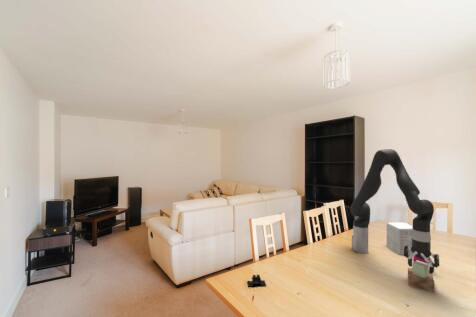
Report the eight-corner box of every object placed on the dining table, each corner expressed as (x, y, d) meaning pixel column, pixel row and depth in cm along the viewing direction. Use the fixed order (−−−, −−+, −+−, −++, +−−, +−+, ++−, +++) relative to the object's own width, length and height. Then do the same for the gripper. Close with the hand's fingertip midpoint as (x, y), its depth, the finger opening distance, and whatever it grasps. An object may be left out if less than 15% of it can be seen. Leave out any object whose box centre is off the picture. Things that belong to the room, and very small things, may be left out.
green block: (412, 274, 116) (412, 262, 116) (416, 271, 118) (416, 260, 118) (424, 278, 112) (424, 266, 111) (428, 275, 114) (428, 264, 114)
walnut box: (408, 285, 114) (408, 276, 114) (407, 276, 122) (407, 267, 122) (434, 292, 108) (434, 282, 108) (431, 282, 116) (432, 273, 116)
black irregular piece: (266, 280, 120) (266, 272, 120) (269, 288, 113) (269, 279, 113) (243, 281, 119) (243, 273, 119) (245, 290, 112) (245, 281, 112)
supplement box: (419, 254, 147) (419, 228, 146) (398, 254, 147) (399, 228, 146) (404, 246, 160) (404, 222, 159) (385, 246, 160) (386, 222, 160)
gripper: (401, 235, 118) (401, 265, 119) (435, 245, 106) (435, 278, 107) (408, 232, 122) (407, 262, 123) (441, 241, 110) (441, 273, 111)
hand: (420, 269), depth 115 cm, fingers open, 8 cm apart
